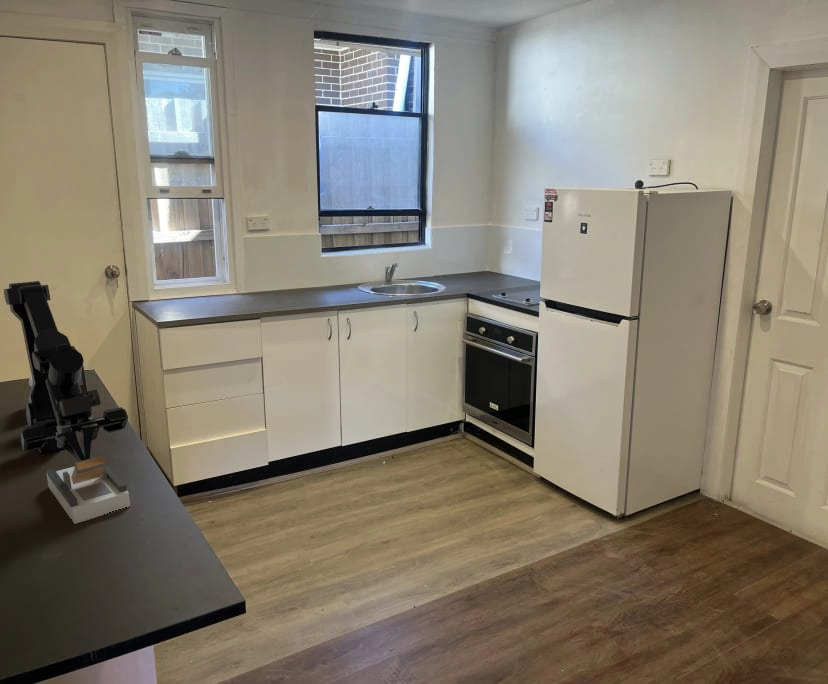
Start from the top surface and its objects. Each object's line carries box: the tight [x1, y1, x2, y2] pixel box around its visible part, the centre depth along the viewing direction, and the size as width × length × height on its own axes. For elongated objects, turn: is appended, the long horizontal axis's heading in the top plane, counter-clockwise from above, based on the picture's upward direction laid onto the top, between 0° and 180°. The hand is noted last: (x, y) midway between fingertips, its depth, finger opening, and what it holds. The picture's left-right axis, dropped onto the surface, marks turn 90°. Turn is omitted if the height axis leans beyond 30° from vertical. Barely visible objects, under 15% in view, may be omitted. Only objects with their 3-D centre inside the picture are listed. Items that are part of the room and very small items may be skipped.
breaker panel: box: [46, 464, 131, 525], centre depth 131 cm, size 20×10×6 cm, turn 41°
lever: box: [71, 454, 108, 485], centre depth 128 cm, size 2×5×8 cm
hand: (87, 467), depth 128 cm, fingers closed, pressing on lever
